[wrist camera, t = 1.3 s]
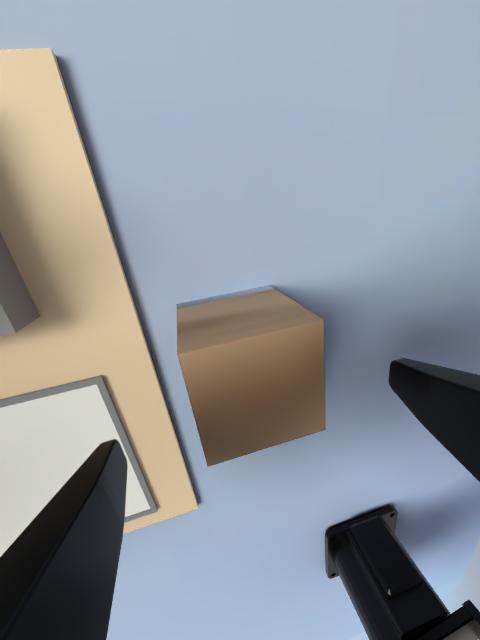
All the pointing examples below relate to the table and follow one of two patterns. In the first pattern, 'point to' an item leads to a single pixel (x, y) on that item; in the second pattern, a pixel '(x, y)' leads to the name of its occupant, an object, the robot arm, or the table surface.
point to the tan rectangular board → (71, 320)
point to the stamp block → (251, 370)
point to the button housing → (13, 295)
